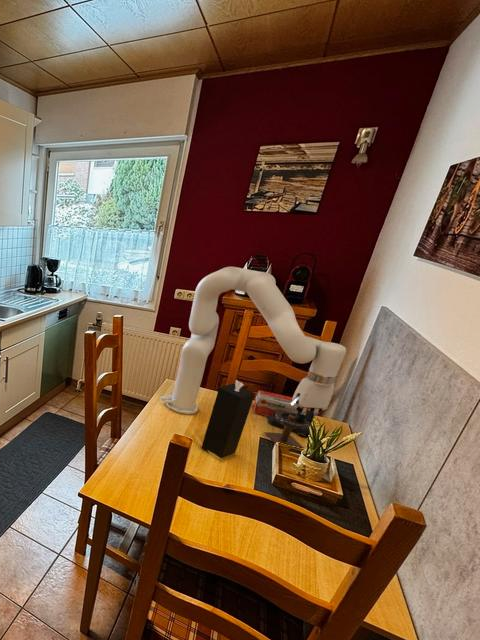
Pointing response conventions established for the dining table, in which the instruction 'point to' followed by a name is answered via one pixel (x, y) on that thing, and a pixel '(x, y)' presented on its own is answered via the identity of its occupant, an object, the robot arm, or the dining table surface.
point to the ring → (280, 418)
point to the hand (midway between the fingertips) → (302, 422)
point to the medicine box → (272, 403)
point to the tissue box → (227, 419)
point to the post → (284, 435)
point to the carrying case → (276, 423)
